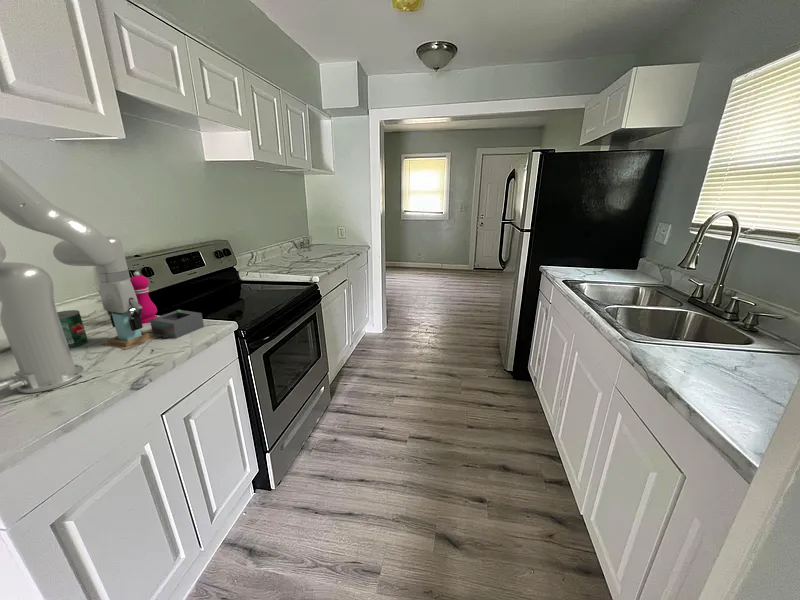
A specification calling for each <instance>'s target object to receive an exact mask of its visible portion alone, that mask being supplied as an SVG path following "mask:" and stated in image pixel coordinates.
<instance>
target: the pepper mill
mask: <svg viewBox="0 0 800 600" xmlns="http://www.w3.org/2000/svg"><path fill="white" fill-rule="evenodd" d="M130 281H131V283H132V286H133V288H134V291H135V294H136V297H137V301H138V304H139V305H141V306H142V311H141V312H142V313H141V317H140V318H141V322H142V325H144V324H151V323H150V319H153V318H156V317H158V316H157V315H156V314H157V313H158V308H157V306H156V304H155V303H154V302H153V301H152V300H151V298H150V296H149V291H150V290H149V289H150V288H149V287H148V286H149V285H150V284H149V283H150V281H149V279H148V277H146V276H144V275H140V272H139V271H134V272H133V276H130Z"/></svg>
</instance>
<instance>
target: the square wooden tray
mask: <svg viewBox="0 0 800 600" xmlns="http://www.w3.org/2000/svg"><path fill="white" fill-rule="evenodd" d="M140 331H141V335H142V336H139V337H137V338H134V339H131V340H129V341H122V340H119V339H118V335H116V336H113V337H112V336H111V337H110V338H107V340H106V341H107V342H103V343H102V344H101V345H102V346H108V347H113V348H117V349H121V350H127V349H129V348H133V347H135V346H138V345H140V344H142V343H145V342H147V341H150V340H153V339H155V338H158V337H159V335H155V334H153V332H147V331H142V330H140Z"/></svg>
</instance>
